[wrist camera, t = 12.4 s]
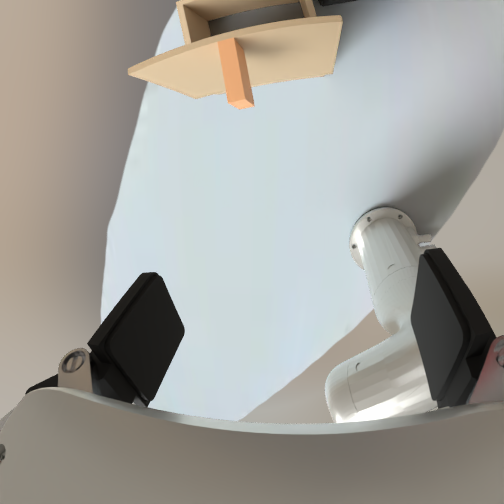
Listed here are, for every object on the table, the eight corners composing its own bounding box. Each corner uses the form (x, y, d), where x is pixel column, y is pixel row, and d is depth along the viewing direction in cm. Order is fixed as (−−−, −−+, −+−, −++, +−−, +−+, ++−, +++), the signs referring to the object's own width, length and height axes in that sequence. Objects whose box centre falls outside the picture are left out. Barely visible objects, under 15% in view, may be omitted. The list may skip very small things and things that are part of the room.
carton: (303, -3, 28) (302, -28, 20) (323, 76, 35) (329, 68, 26) (202, 18, 32) (176, 2, 24) (219, 94, 39) (196, 93, 30)
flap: (340, 15, 13) (359, 84, 15) (331, 69, 26) (340, 114, 28) (127, 68, 17) (134, 130, 19) (195, 94, 30) (202, 136, 32)
